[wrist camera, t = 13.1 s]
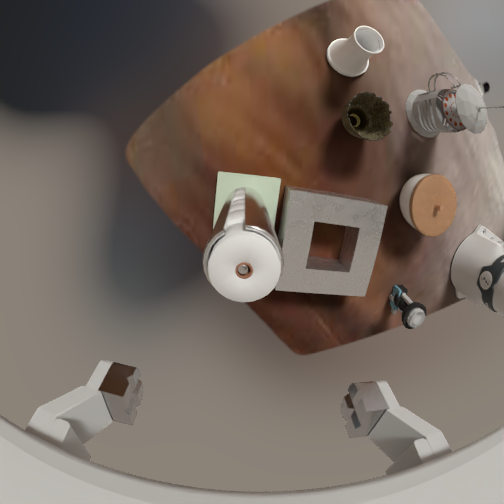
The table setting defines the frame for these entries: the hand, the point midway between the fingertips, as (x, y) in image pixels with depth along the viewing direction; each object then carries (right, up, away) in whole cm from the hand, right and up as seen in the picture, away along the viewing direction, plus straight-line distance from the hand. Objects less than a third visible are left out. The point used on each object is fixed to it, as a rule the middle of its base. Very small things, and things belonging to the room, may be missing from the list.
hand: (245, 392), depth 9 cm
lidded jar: (+31, +15, +36) cm, 50 cm away
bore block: (+13, +8, +38) cm, 41 cm away
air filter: (-1, +13, +35) cm, 37 cm away
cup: (+17, +27, +31) cm, 45 cm away
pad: (-1, +13, +36) cm, 38 cm away
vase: (+17, +39, +27) cm, 50 cm away
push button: (+30, -4, +43) cm, 53 cm away
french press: (+33, +32, +30) cm, 55 cm away
